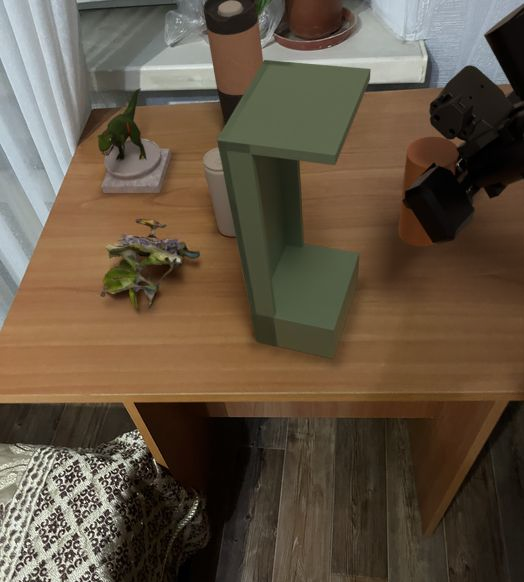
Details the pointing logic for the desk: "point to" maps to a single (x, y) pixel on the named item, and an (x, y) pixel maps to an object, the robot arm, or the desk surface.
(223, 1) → the travel mug
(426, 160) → the tea tin
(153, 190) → the dinosaur figurine
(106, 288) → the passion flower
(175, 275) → the desk surface
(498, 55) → the robot arm
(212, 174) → the beverage can
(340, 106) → the green c-shaped stand
